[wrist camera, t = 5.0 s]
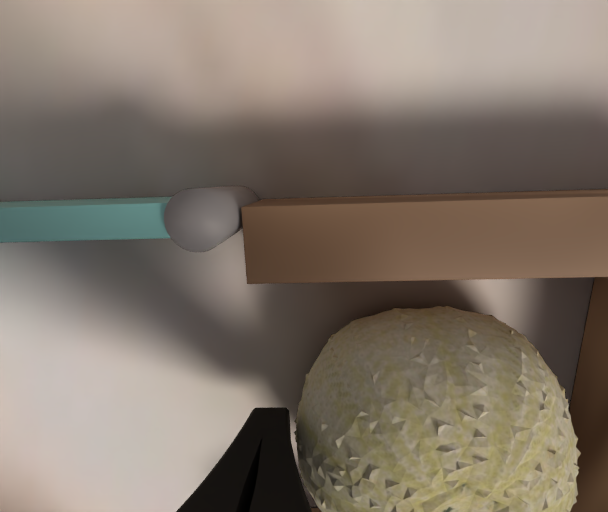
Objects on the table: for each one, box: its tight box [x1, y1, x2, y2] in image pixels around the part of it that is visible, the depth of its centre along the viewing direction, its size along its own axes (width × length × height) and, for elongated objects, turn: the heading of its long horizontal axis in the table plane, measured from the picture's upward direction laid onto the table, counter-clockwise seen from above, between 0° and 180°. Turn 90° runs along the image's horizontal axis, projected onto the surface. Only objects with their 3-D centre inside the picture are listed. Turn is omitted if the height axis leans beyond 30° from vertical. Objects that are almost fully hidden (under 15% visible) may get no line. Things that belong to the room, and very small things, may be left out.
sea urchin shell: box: [294, 305, 581, 512], centre depth 11 cm, size 9×8×8 cm
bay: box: [241, 189, 608, 512], centre depth 11 cm, size 16×14×4 cm
